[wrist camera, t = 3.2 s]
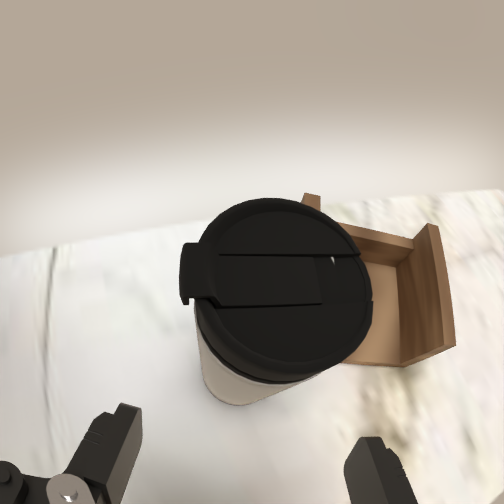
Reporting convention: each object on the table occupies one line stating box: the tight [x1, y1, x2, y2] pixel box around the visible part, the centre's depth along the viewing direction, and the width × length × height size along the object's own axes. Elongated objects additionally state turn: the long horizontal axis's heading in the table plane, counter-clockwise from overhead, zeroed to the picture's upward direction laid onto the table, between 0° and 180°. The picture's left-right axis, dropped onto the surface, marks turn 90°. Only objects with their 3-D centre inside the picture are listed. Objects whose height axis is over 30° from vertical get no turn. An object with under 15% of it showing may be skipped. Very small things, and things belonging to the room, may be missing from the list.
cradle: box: [301, 193, 456, 367], centre depth 27 cm, size 14×12×8 cm
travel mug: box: [179, 198, 374, 405], centre depth 18 cm, size 6×7×20 cm
